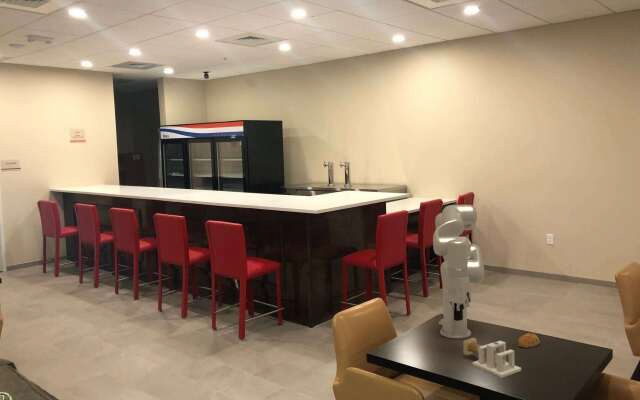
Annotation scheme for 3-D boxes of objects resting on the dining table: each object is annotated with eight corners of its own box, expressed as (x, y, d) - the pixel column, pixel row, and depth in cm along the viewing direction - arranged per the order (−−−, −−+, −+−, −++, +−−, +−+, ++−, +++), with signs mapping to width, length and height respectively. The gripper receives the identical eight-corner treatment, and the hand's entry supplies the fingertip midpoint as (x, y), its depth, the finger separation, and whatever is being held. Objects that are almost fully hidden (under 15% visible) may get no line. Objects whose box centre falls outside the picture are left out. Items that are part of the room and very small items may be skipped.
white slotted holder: (472, 365, 185) (472, 340, 184) (491, 358, 190) (491, 335, 189) (501, 377, 173) (501, 352, 173) (521, 370, 178) (521, 345, 178)
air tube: (463, 353, 191) (463, 340, 191) (473, 350, 194) (473, 337, 193) (496, 367, 178) (496, 353, 177) (507, 364, 180) (507, 350, 180)
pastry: (529, 350, 196) (529, 340, 196) (512, 346, 201) (512, 336, 201) (540, 344, 202) (540, 334, 202) (524, 340, 207) (524, 330, 207)
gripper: (436, 270, 199) (437, 317, 200) (465, 277, 186) (465, 326, 187) (450, 268, 203) (451, 313, 204) (479, 274, 190) (480, 323, 191)
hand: (458, 319), depth 195 cm, fingers closed
